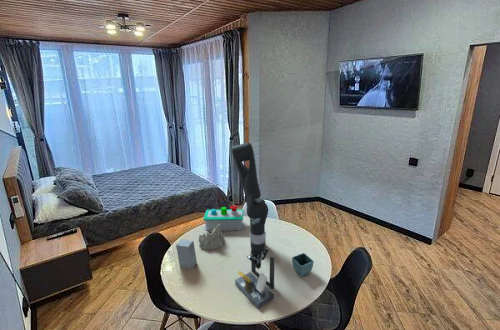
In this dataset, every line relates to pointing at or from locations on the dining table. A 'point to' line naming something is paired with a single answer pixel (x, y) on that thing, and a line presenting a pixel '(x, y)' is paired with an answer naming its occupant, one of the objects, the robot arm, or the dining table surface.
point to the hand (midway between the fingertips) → (258, 267)
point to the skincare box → (186, 253)
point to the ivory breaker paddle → (261, 282)
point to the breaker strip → (254, 291)
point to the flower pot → (302, 264)
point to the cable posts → (270, 271)
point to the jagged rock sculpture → (212, 239)
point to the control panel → (224, 219)
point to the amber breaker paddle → (244, 276)
